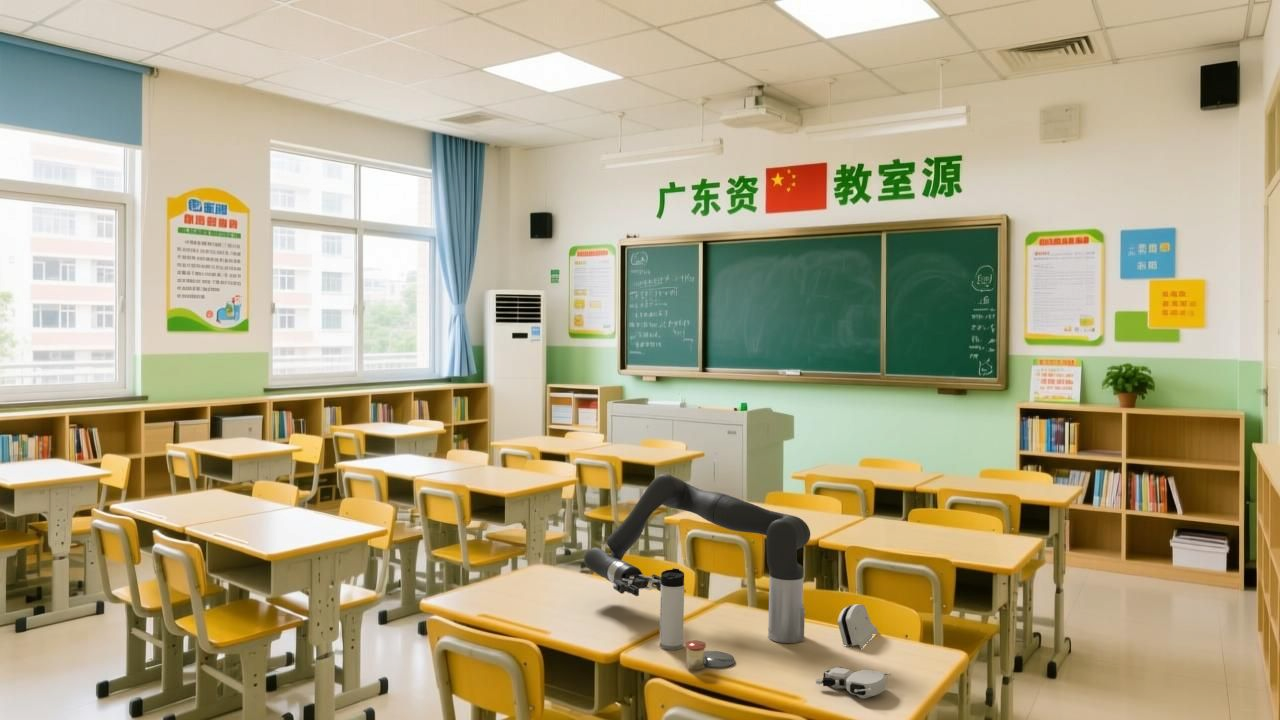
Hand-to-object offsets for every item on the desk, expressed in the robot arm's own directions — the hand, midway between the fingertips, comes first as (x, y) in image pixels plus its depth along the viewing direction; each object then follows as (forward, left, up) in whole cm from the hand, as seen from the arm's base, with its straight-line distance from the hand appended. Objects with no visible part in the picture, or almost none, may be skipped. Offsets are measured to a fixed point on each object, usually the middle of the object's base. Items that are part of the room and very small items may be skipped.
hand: (651, 590), depth 242 cm
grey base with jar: (-13, +23, -12) cm, 29 cm away
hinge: (-57, +4, -12) cm, 58 cm away
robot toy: (-45, +40, -12) cm, 61 cm away
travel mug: (-5, +10, -12) cm, 16 cm away
